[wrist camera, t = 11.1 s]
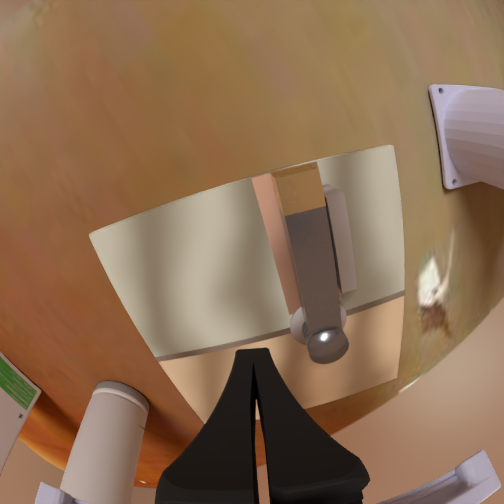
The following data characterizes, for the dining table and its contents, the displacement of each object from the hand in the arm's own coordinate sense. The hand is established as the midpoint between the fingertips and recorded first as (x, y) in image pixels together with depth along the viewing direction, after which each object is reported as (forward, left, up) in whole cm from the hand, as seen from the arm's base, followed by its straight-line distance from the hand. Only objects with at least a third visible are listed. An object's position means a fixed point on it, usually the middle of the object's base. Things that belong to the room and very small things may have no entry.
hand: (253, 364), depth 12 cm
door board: (-1, +5, -8) cm, 10 cm away
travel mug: (+17, +11, -9) cm, 22 cm away
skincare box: (+35, +7, -9) cm, 37 cm away
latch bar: (-4, 0, -7) cm, 8 cm away
